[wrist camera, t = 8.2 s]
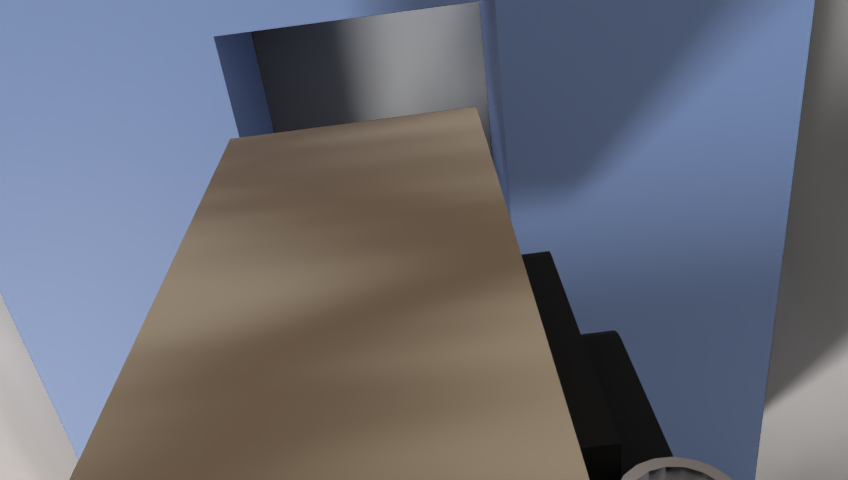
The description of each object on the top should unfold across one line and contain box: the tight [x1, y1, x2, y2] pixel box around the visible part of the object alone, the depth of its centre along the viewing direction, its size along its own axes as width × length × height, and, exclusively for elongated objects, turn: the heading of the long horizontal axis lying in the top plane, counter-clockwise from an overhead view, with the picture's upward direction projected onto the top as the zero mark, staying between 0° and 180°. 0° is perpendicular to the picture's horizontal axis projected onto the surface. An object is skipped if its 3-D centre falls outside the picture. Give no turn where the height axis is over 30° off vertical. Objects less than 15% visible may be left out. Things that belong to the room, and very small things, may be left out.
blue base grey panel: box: [0, 0, 815, 480], centre depth 14 cm, size 18×20×16 cm
